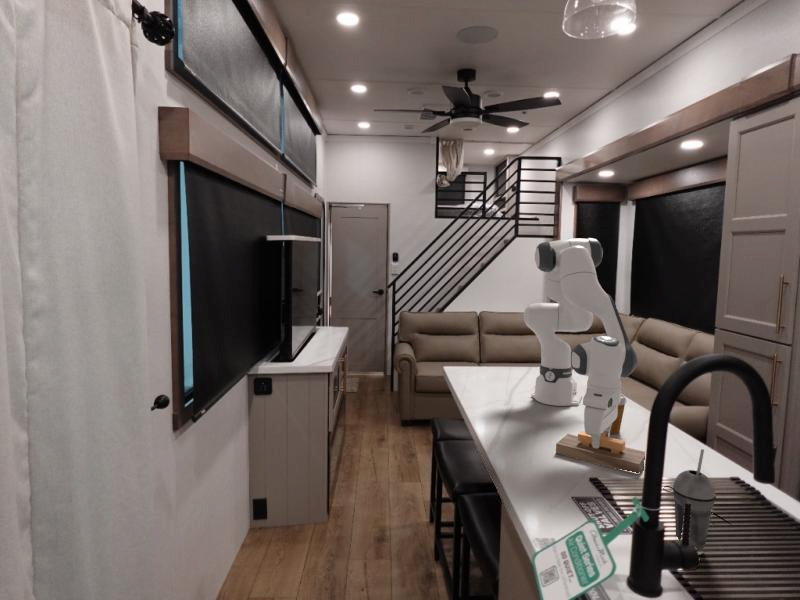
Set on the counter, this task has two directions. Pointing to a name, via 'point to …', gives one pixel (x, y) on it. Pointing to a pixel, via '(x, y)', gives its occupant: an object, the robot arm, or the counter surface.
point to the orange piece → (603, 442)
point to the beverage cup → (694, 503)
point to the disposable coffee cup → (618, 416)
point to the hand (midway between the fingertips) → (601, 442)
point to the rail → (601, 454)
